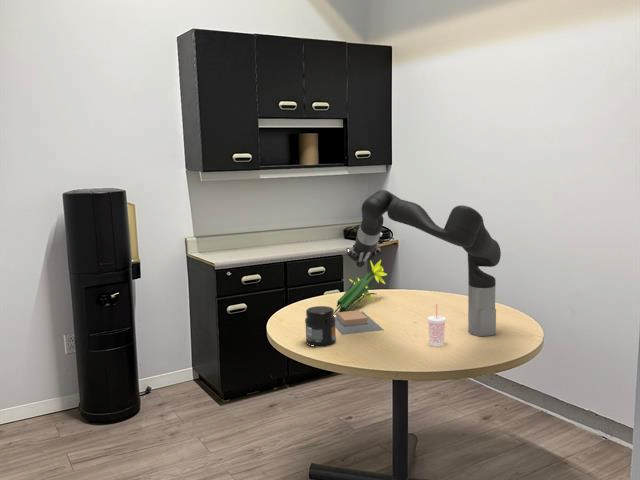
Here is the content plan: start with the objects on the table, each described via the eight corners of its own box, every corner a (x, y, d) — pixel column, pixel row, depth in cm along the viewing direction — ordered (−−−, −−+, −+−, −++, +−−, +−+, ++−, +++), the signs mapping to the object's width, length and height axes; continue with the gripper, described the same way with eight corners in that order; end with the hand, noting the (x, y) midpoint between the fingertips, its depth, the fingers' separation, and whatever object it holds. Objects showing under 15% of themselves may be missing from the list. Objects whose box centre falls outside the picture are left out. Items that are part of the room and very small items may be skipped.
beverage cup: (424, 342, 202) (423, 302, 200) (439, 339, 204) (439, 300, 202) (433, 348, 197) (433, 307, 194) (449, 345, 199) (449, 304, 196)
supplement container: (339, 339, 209) (338, 306, 207) (331, 349, 199) (330, 314, 197) (310, 337, 212) (309, 305, 210) (302, 347, 202) (300, 313, 200)
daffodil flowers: (318, 313, 244) (356, 275, 271) (348, 333, 240) (383, 293, 267) (331, 284, 234) (369, 248, 261) (362, 304, 230) (397, 265, 257)
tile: (367, 317, 223) (358, 310, 234) (344, 320, 221) (336, 312, 232) (367, 324, 223) (358, 316, 234) (344, 326, 221) (337, 318, 232)
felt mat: (384, 331, 216) (384, 330, 216) (342, 335, 212) (342, 334, 212) (362, 312, 241) (362, 311, 241) (324, 316, 237) (324, 315, 237)
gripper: (351, 245, 199) (343, 274, 212) (389, 244, 201) (379, 272, 215) (347, 228, 203) (340, 257, 217) (384, 226, 206) (374, 256, 219)
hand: (359, 265), depth 216 cm, fingers closed
